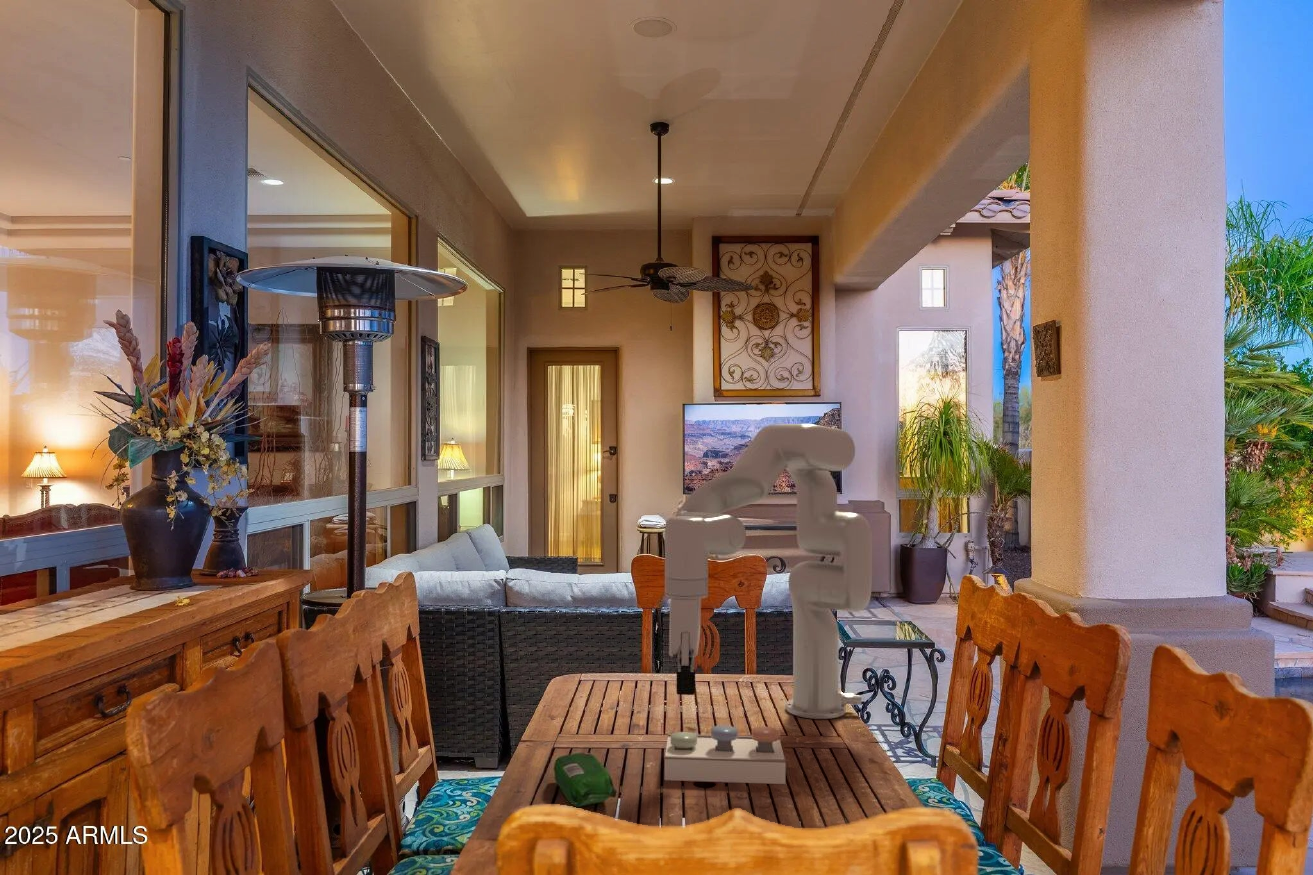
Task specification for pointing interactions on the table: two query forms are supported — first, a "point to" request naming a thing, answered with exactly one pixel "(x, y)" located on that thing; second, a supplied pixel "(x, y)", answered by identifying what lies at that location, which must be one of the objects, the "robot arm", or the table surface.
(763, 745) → the terracotta button
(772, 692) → the table surface
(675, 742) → the sage button
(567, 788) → the snack package
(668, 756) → the console
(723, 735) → the slate button
